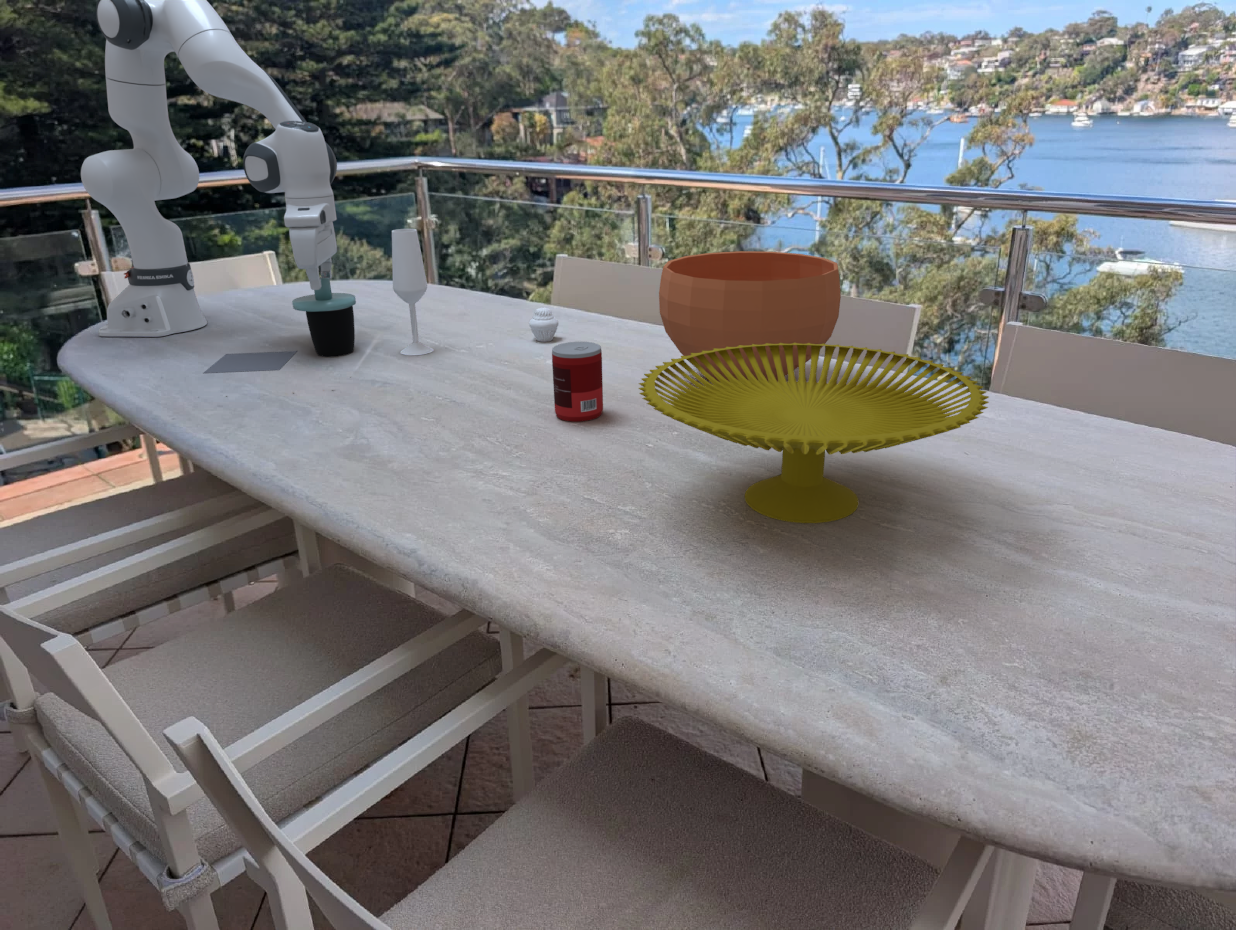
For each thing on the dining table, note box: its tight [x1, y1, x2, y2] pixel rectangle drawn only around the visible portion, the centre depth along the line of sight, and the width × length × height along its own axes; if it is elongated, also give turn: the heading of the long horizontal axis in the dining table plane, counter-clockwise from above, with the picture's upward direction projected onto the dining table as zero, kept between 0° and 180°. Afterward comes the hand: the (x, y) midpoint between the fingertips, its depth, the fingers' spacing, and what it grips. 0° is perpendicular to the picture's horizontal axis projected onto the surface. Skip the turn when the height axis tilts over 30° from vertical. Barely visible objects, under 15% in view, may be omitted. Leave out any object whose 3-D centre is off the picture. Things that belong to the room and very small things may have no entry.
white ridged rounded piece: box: [528, 306, 559, 343], centre depth 191 cm, size 6×6×7 cm
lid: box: [291, 276, 357, 312], centre depth 179 cm, size 12×12×5 cm
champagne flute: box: [391, 228, 434, 356], centre depth 181 cm, size 7×7×24 cm
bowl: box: [658, 250, 842, 383], centre depth 156 cm, size 30×30×20 cm
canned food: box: [551, 341, 604, 423], centre depth 144 cm, size 8×8×11 cm
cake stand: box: [638, 343, 990, 524], centre depth 111 cm, size 40×40×15 cm
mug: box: [305, 305, 356, 358], centre depth 182 cm, size 12×9×10 cm
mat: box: [203, 350, 298, 374], centre depth 177 cm, size 14×14×1 cm
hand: (321, 284), depth 179 cm, fingers open, 8 cm apart
